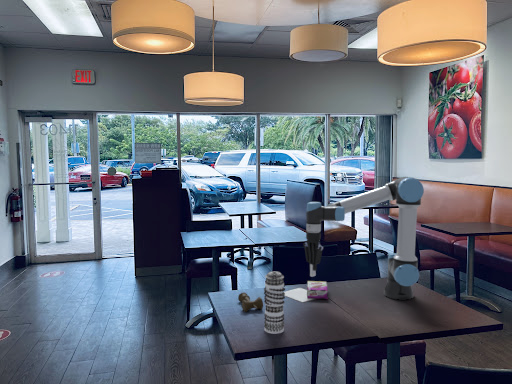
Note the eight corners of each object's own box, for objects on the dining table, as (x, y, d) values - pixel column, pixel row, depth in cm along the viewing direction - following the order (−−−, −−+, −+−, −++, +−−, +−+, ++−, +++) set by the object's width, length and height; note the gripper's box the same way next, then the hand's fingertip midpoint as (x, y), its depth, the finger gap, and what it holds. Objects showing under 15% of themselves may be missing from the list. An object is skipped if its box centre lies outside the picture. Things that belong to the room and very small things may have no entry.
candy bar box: (307, 289, 217) (306, 280, 233) (307, 298, 217) (306, 289, 233) (328, 289, 215) (326, 281, 232) (328, 299, 216) (326, 289, 232)
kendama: (251, 301, 215) (266, 313, 197) (234, 304, 212) (248, 316, 193) (250, 289, 215) (266, 300, 197) (233, 292, 211) (247, 303, 193)
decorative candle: (289, 329, 178) (289, 272, 176) (275, 336, 171) (276, 277, 169) (272, 323, 184) (273, 268, 182) (259, 330, 177) (259, 273, 175)
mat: (323, 296, 222) (323, 295, 222) (302, 302, 212) (302, 302, 212) (299, 288, 236) (299, 287, 236) (278, 293, 226) (278, 293, 226)
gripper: (299, 230, 217) (298, 274, 219) (317, 234, 207) (317, 280, 209) (309, 229, 222) (308, 272, 224) (327, 232, 212) (327, 277, 213)
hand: (312, 276), depth 216 cm, fingers closed
